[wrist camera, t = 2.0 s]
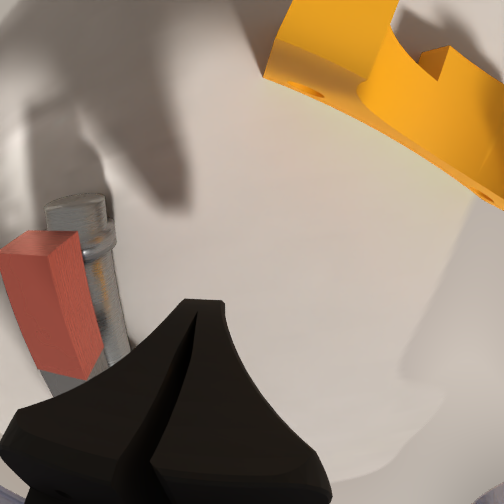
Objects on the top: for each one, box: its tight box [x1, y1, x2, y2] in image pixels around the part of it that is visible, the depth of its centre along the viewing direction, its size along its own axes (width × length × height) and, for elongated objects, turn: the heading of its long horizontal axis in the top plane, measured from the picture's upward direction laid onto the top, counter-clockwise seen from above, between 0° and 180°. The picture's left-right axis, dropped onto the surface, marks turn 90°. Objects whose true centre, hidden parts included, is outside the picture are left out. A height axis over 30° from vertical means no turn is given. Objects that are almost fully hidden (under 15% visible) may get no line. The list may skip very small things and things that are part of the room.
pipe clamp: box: [263, 0, 504, 211], centre depth 8 cm, size 12×4×6 cm, turn 69°
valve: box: [44, 193, 131, 368], centre depth 15 cm, size 19×4×3 cm, turn 178°
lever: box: [0, 230, 109, 397], centre depth 11 cm, size 14×3×2 cm, turn 178°
